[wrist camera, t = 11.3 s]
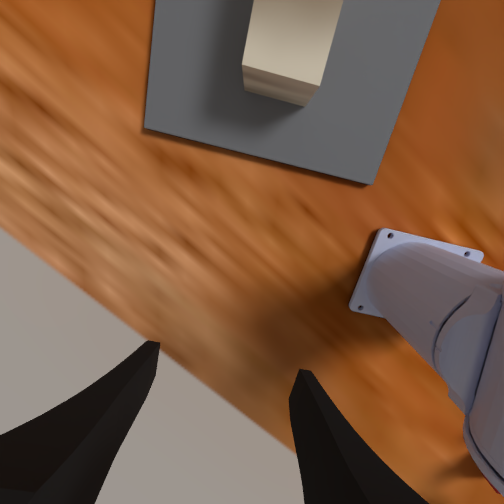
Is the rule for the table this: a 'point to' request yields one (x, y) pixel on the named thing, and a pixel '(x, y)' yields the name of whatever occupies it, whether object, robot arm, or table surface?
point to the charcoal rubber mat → (277, 111)
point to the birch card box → (288, 47)
